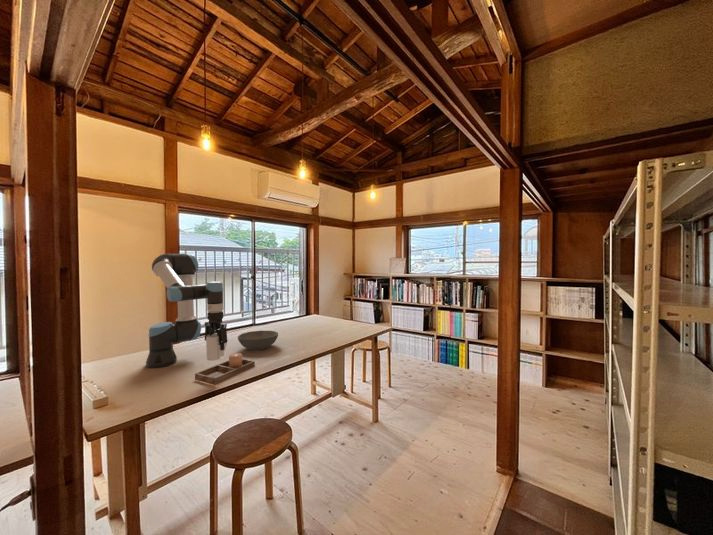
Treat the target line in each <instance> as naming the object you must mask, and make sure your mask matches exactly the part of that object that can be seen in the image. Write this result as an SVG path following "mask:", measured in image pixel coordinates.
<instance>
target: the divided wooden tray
mask: <svg viewBox="0 0 713 535" xmlns="http://www.w3.org/2000/svg"><path fill="white" fill-rule="evenodd" d="M255 364H256V363H255V361H254V360H251V359H245V358H242V366H241V367H239V368H236V369H235V368H230V367H229V359H228V360H226V361H223V362H221V363H218V364H216V365H213V366H211V367H209V368H206V369H203V370H200V371H198V372H195V373H194V378H195V379H194V380H195V381H198V382H203V383H207V384H210V385H214V386H216V384H218V383H220V382H222V381H224V380H226V379H228V378H231V377H233V376H235V375H237V374H240V373H241V372H244V371H246V370H248V369H250V368H253V367H254V366H255Z"/></svg>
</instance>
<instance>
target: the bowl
mask: <svg viewBox="0 0 713 535" xmlns="http://www.w3.org/2000/svg"><path fill="white" fill-rule="evenodd" d="M278 337H279V332H277V331H276V330H275V331H274V330H254V331H247V332H244V333H241V334H239V335H238V336H237V339H238V342H239V344H240V345H241V346H242V347H244V348H246V349H247V350H253V351H257V350H258V351H261V350H264V349H267V348H269V347H271V346H272V345H273V344H274V343H275V342H276V341H277V339H278Z"/></svg>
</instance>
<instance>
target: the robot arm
mask: <svg viewBox="0 0 713 535" xmlns="http://www.w3.org/2000/svg"><path fill="white" fill-rule="evenodd" d="M151 270H152V272H153V274H154V275H156V276H158V277H159V278H160V280H161V282H162V283H163V284H164V286H165V287H166V298H167V301H169V302H172V303H173V302H175V303H176V302H177V317H176V319H175V323H173V322H172V321H164V322H160V323H157V324H154V325H151V326H150V327H149V328H148V346H149V348H148V349H149V350H148V351H149V352H148V355H147V358H146V361H145V367H146V368H149V369H156V368H157V369H158V368H164V367H167V366H172V365H173V364H176V363H177V361H178V360H177V358H178V357H177V355H176V352H175V349H174V344H178V343H179V344H180V343H182V342H189V341H190V342H191V341H194V340H197V339H198V338H199V337H200V335H201V332H202V325H201V321H200V320H198V318H197V316H196V315H195V308H194V300H202V299H206V304H207V307H206V310H207V313H206V314H207V315H206V316H207V318H206V320H208V321H205V322H204V330H205V331H204V341H205V342H206V336H207V335H210V336H211V335H212V334H217V336H219V344H218V357H220V358H221V357H223V356H224V355H225V351H224V344H225V343H227V344H228V332H227V327H228V326H227V325H228V324H227V323H224V322H223V319H224V285H223V282H222V281H209V282H207V283H201V284H195V285H194V284H193V277H194V276H196V273H197V272H198V271H199V261H198V258H197V257H196V255H194V254H193V253H163V254H160V255H158V256H157V257H155V258H154V260H153V261H152V263H151ZM215 332H216V333H215Z"/></svg>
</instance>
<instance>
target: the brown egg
mask: <svg viewBox="0 0 713 535" xmlns="http://www.w3.org/2000/svg"><path fill="white" fill-rule="evenodd" d="M242 359H243V353H240V352H236V353H231V354H229V355H228V360H229V367H230V368H235V369H236V368H239V367H241V366H242Z"/></svg>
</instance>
